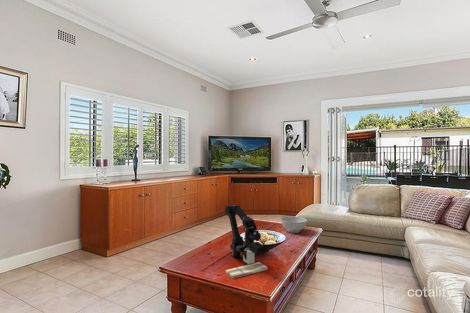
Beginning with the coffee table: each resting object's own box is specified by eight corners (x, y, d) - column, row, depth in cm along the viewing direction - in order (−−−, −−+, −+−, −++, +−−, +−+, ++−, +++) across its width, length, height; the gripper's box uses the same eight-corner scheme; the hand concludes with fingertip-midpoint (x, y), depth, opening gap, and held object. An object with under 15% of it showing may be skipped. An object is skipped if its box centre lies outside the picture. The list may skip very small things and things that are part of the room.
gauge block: (240, 259, 190) (241, 249, 190) (246, 257, 192) (246, 248, 192) (248, 264, 181) (248, 254, 181) (254, 262, 184) (254, 252, 183)
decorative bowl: (308, 228, 274) (308, 217, 274) (305, 236, 249) (305, 223, 249) (282, 226, 283) (282, 215, 283) (277, 233, 258) (278, 221, 258)
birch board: (225, 272, 171) (225, 270, 171) (259, 264, 185) (259, 261, 185) (233, 278, 162) (233, 276, 162) (267, 269, 176) (267, 267, 176)
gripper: (243, 242, 173) (243, 265, 174) (266, 238, 183) (266, 260, 183) (235, 237, 183) (235, 259, 183) (257, 233, 193) (256, 254, 193)
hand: (248, 258), depth 185 cm, fingers closed on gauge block, 5 cm apart
